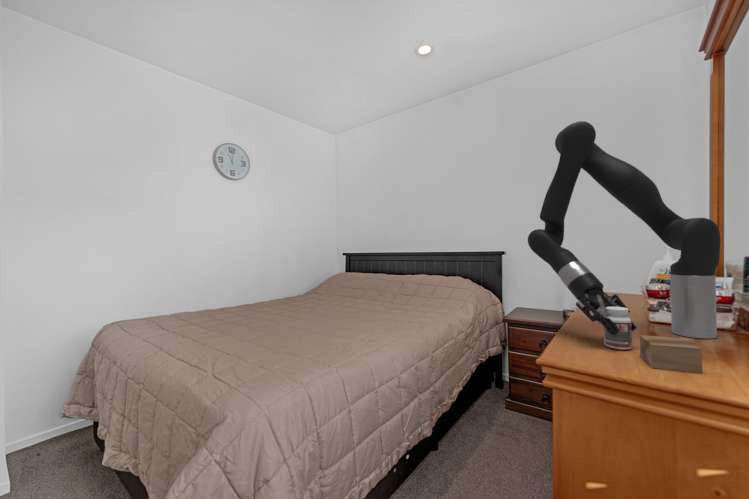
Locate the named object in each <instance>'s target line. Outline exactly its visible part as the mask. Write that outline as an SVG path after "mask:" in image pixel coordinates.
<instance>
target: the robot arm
mask: <svg viewBox="0 0 749 499" xmlns="http://www.w3.org/2000/svg"><path fill="white" fill-rule="evenodd" d="M596 136H597V133H596V129H595V127H594V125H592V123H590V122H588V121H581V120H580V121H575V122H572V123H571V124H569V125H567V126H565V127H564V128H563V129H562V130H560V131H559V132H558V133H557V135H556V138H555V139H554V145H555V149H556V151H557V152H558V153H559V160H558V164H557V168H556V170H555V173H554V176H553V177H552V180H551V182H550V184H549V186H548V188H547V191H546V192H545V197H544V200H543V202H542V206H541V209H540V214H539V219H540V220H541V221H542V222H544V229H541V228H539V229H534V230H532V231H530V233H529V234H528V236H527V243H528V246H529V248H530V249H531V251H532V252H533V253H534V254H535V255H536V256H538V257H539V258H540V259H542V260H543V261H544V262H545V263H547V264H548V265H549V266H550V267H551V269H552V270H553V271H554V272H555V273H556V274H557V276H558V277H559V278H560V280H561V282H562V284H563V285H564V286H565V287H566V288H567V289H568V290H569V291H570V293H571V294H572V295H573V297H575V299H576V300H577V302H576V303H575V306H576V307H577V308H579V309H580V311H581V313H583V314H584V315H585V316H586V317H587V318H588V319H589V320H590V321H591V322H592V323H595V322H597V323H599V324H601V325H602V326H603V328H604V327H605V328H606V329H607V331H608V332H609V333H610V334H611V335H615V334H617V333H618V332H619V331H620V330H619V329H618V327H617V326H616V325H615V324H614V323H613V322H612V321H611V319H610V318H608V316H607V313H606V307H624V308H628V307H627V306H626V304H625V303H624V302H623V301H622V300H621V298H620V297H619V295H617V294H613V295H608V294H607V293H606V292H605V291H604V284H603V283H602V282H601V281H600V280H599V279H598V278H597V276H596V275H595V274H594V273H593V272H592V271H591V270H590V269H589V268H588V267H587V266H586V265H585V264H584V263H583V262H582V261H580V260H579V259H578V258H577V257H576V256H575V254H574V253H573V252H572V251H570V250H569V249H567V248H564V247H562V244H563V242H564V236H565V217H566V216H567V212H568V209H569V206H570V202H571V199H572V195H573V192H574V189H575V186H576V182H577V180H578V177H579V175H580V173H581V169H582V170H583V171H585V172H586V173H587V174H588V175H589V176H590V177H591V178H592V179H593V180H594V181H595V182H596V183H598V184H599V186H601V187H602V188H603V189H604V190H606V192H608V194H610V195H611V196H612V197H613V198H615V199H616V200H617V201H618V202H619V203H620V204H622V205H623V206H624V207H625V208H627V209H628V210H629V211H630V212H632V214H634V215H635V216H637V217H638V218H639V219H640V220H642V222H644V223H645V224H646V225H647V226H648V227H649V228H650V229H651V230H652V231H653V232H654V233H655V235H656V236H657V237H659V239H660V240H661V241H662V242H663V243H664V244H666V245H667V246H668V247H669V248H672V250H673V249H674V250H676V251H680V257H679V258H678V260H677V261H676V262H674V263H672V264H671V265H670V267H669V270H670V271H669V273H670V275H669V277H670V310H671V312H670V313H671V315H670V316H671V317H670V318H671V319H670V320H671V333H673V334H675V335H677V336H682V337H687V338H696V339H704V340H705V339H709V340H710V339H717V337H718V330H717V327H718V326H717V324H718V322H717V290H716V285H717V283H716V282H717V281H716V269H717V267H718V266H719V264H720V259H721V258H720V257H721V233H720V229H719V227H718V225H717V223H716V222H715V221H713V220H711V219H710V218H706V217H695V218H694V217H693V218H683V217H682V216H680V215H678V214H677V213H675V212H674V211H673V210H672V209H671V208H669V207H668V206H667V205H666V204H665V202H664V200H663V199H662V196H661V193H660V191H659V188H658V187H657V184H656V183H655V182H654V181H653V180H652V179H651V178H650V177H648V176H647V175H646V174H644V173H643V171H642V170H640V169H639V168H637V167H636V166H634V165H632V164H630V163H629V162H626V161H624V160H622V159H620V158H618V157H615V156H613V155H611V154H609V153H608V152H606V151H604V150H603V148H601V147H600V146H599V145H597V143H595V141H596ZM590 312H591V313H590ZM628 312H629V313H631V310H630V309H629V308H628ZM636 330H637V326H636V324H634V323H633V321H632V320H631V331H632V333H633V332H634V331H636Z"/></svg>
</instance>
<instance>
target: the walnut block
mask: <svg viewBox="0 0 749 499" xmlns="http://www.w3.org/2000/svg"><path fill="white" fill-rule="evenodd" d="M639 356H640V357H641V359H643V361H645V363H646V364H647V365H648V366H649V367H650V368H652V369H656V370H657V369H658V370H668V371H677V372H688V373H694V374H695V373H696V374H703V349H702V348H701V347H700V346H698V345H697V344H695V343H693V342H691V341H689V340H688V339H686V338H683V337H682V338H681V337H670V336H658V335H657V336H655V335H644V334H643V335H641V334H640V335H639Z"/></svg>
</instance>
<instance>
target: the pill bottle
mask: <svg viewBox="0 0 749 499" xmlns="http://www.w3.org/2000/svg"><path fill="white" fill-rule="evenodd" d="M628 309H629V308H628V307H627V308H624V307H606V314H607V316H608V318H610V319H611V321H612V322H613V323H614V324H615V325H616V326H617V327H618V329H619V330H620V331H619V332H618V333H617V334H615V335H611V334H610V333H609V332H608V331H607V329H606V328H605V327H604V326H603V341H604V342H603V343H604V345H605V346H606V347H608V348H611V349H614V350H631V349H632V346H633V338H632V337H633V334H632V333H633V332H632V331H631V321H632V320H631V318H630V317H629V316H628V315H629V313H630V312H628Z"/></svg>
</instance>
